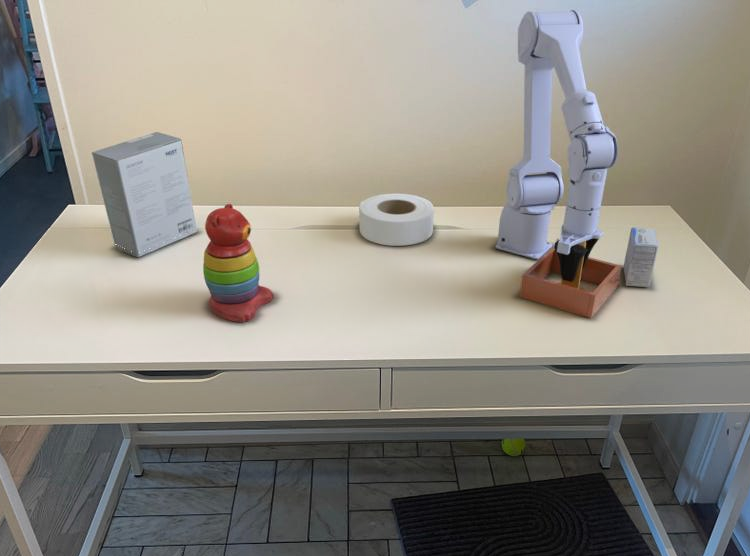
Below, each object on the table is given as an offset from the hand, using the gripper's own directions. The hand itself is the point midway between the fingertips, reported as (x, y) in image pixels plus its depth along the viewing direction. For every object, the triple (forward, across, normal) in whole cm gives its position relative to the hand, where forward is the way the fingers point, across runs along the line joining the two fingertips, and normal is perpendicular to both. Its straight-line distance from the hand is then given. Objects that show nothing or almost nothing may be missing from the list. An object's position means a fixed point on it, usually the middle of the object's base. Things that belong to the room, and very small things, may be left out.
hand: (571, 275), depth 130 cm
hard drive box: (+4, -28, +79) cm, 84 cm away
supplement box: (+4, 0, 0) cm, 4 cm away
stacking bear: (+4, -38, +47) cm, 60 cm away
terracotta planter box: (+3, 0, 0) cm, 3 cm away
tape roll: (+4, +4, +41) cm, 41 cm away
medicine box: (+4, +12, -8) cm, 16 cm away
